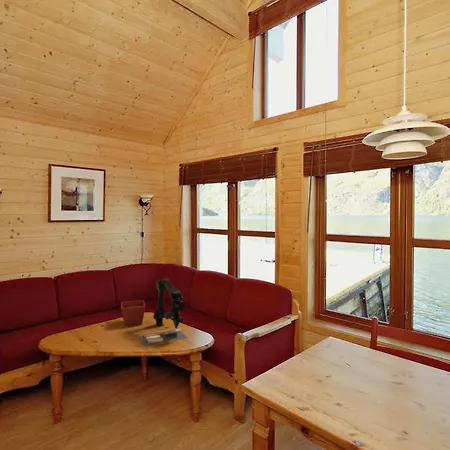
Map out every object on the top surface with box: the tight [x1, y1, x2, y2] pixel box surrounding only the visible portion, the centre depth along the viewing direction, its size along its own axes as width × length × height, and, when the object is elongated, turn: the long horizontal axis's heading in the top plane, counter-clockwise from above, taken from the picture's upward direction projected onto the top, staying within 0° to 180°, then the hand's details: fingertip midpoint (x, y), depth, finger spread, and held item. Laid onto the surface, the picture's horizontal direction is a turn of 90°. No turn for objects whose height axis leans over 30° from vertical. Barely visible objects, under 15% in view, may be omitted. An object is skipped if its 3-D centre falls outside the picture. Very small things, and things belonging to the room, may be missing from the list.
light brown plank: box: [142, 327, 176, 339], centre depth 249 cm, size 6×25×2 cm, turn 117°
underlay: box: [137, 331, 188, 348], centre depth 244 cm, size 22×32×1 cm
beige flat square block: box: [164, 328, 182, 336], centre depth 245 cm, size 10×10×2 cm
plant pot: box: [120, 299, 146, 327], centre depth 274 cm, size 19×19×17 cm
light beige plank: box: [146, 335, 163, 344], centre depth 238 cm, size 10×10×2 cm
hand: (175, 328), depth 243 cm, fingers closed
